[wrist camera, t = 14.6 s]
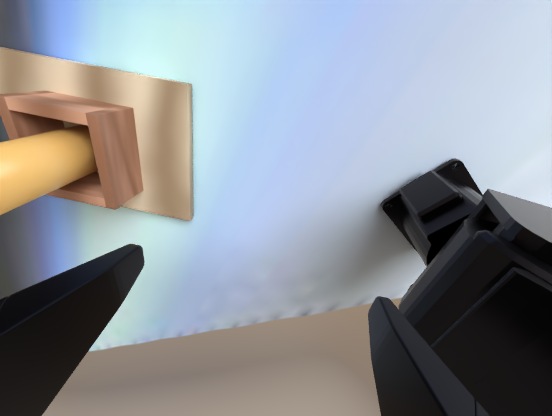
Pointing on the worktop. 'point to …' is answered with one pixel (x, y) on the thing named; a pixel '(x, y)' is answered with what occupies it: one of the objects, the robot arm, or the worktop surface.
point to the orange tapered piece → (43, 164)
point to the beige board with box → (107, 128)
